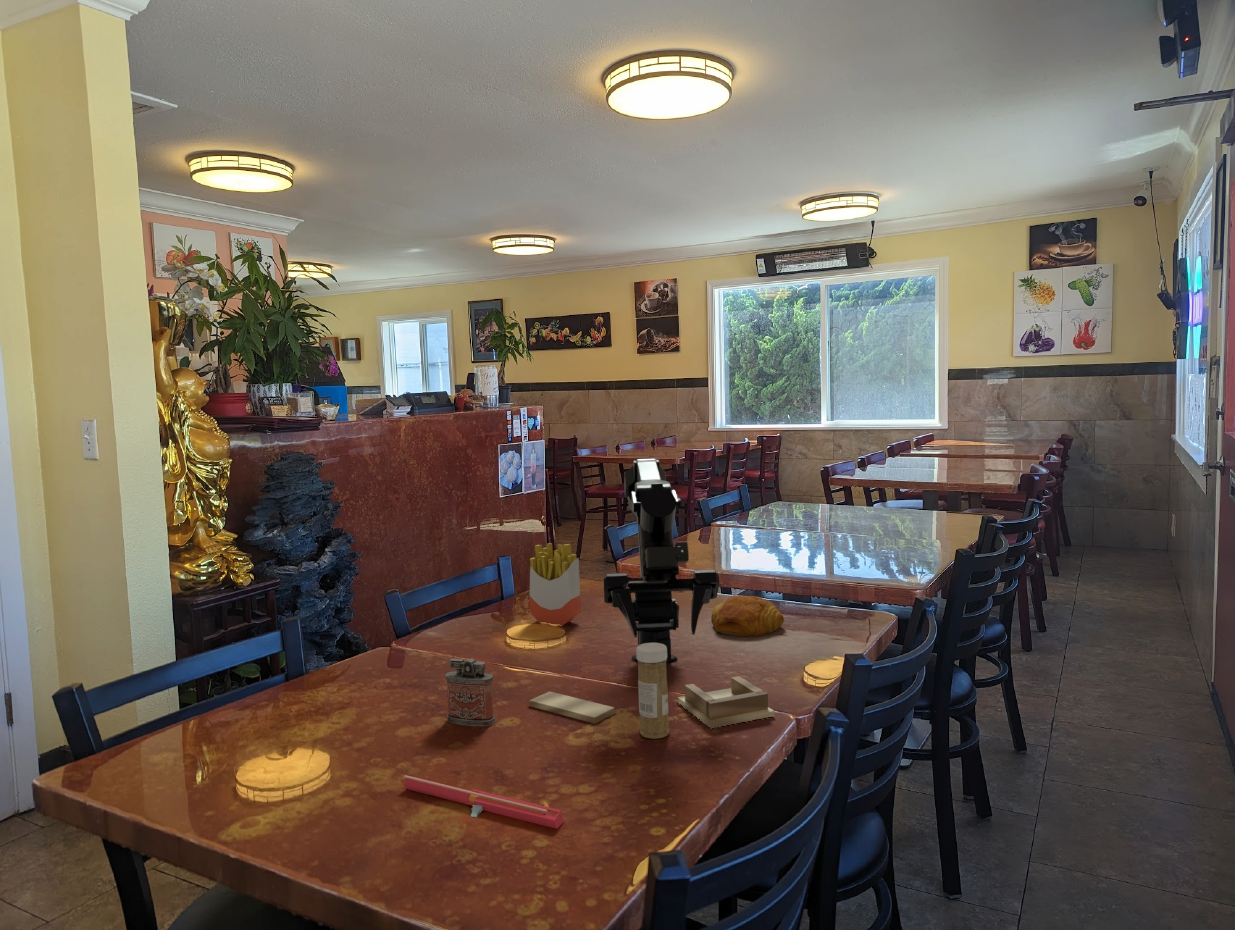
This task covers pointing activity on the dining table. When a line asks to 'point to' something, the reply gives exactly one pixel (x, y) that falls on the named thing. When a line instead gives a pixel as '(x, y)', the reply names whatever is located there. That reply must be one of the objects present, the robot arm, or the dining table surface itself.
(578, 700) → the loose plank
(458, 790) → the red bar
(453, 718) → the lighter
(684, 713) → the dining table surface
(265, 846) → the dining table surface
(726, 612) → the croissant
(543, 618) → the french fries container
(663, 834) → the dining table surface
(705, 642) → the dining table surface
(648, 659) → the sprinkles bottle
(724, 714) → the beige wooden u-shaped tray
